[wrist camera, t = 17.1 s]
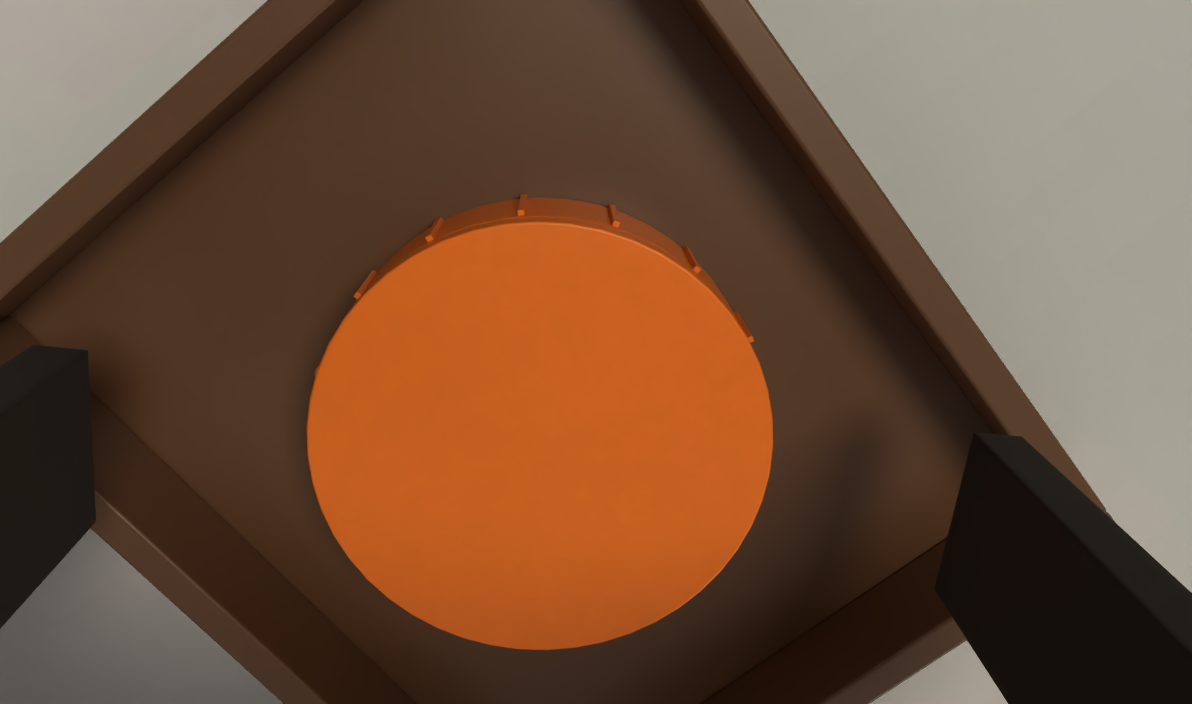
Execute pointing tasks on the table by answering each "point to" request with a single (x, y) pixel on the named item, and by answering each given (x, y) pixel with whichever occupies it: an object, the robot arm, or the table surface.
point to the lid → (540, 426)
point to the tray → (454, 185)
